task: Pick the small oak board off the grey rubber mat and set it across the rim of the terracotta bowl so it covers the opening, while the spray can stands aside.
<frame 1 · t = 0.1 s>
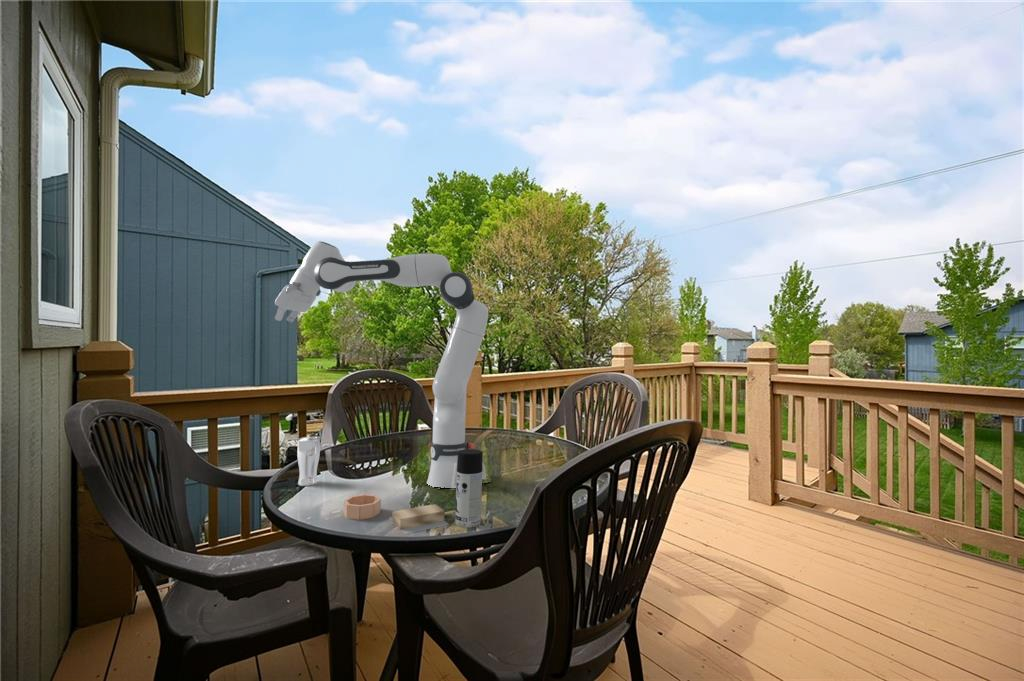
hand: (283, 320, 158), 54 cm above the table, tool tilted 30°, fingers open, 8 cm apart
mat: (418, 526, 123), on the table
board: (418, 521, 123), point 1 cm above the table, touching mat
spray can: (468, 528, 123), on the table
beer glass: (307, 484, 158), on the table
bowl: (361, 518, 128), on the table
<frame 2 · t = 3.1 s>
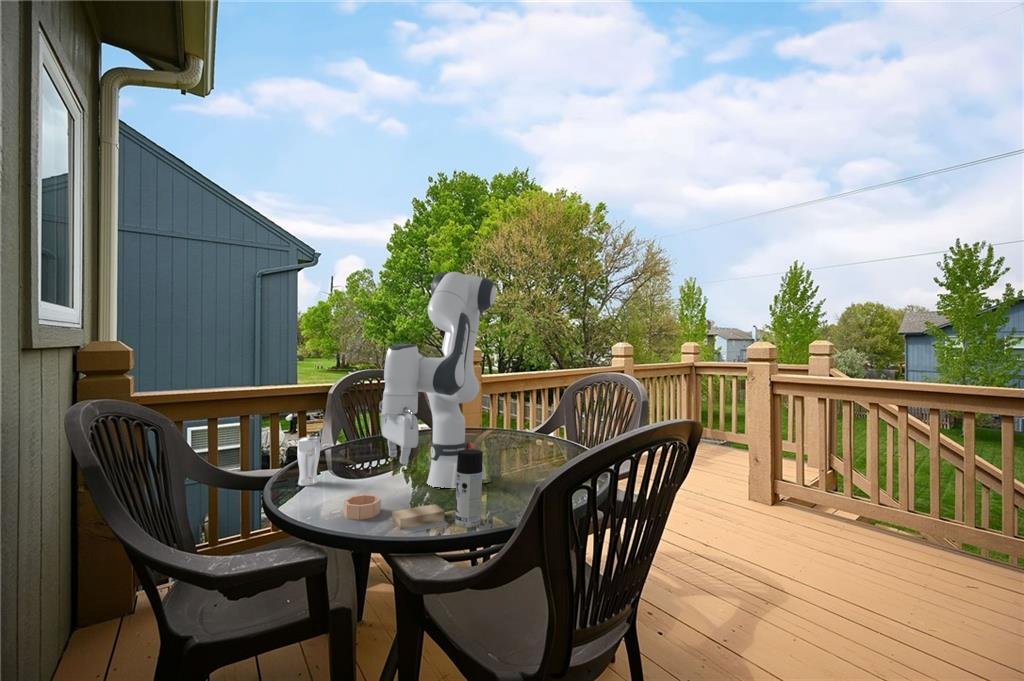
hand: (398, 460, 121), 18 cm above the table, tool pointing down, fingers open, 8 cm apart
nothing on the table moved.
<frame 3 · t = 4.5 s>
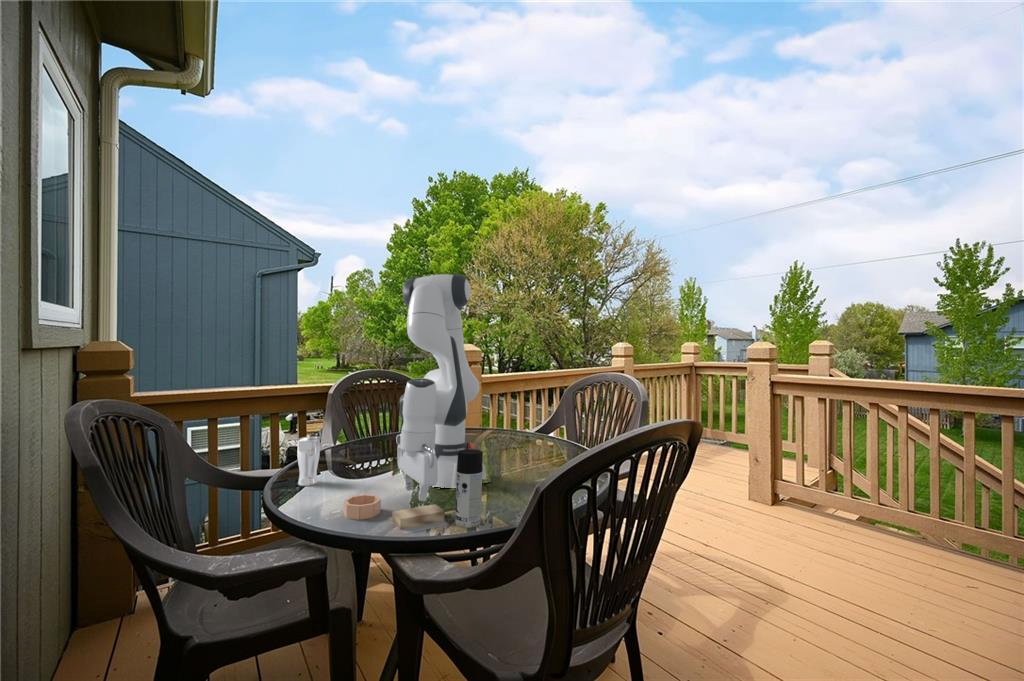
hand: (415, 494, 122), 9 cm above the table, tool pointing down, fingers open, 8 cm apart
nothing on the table moved.
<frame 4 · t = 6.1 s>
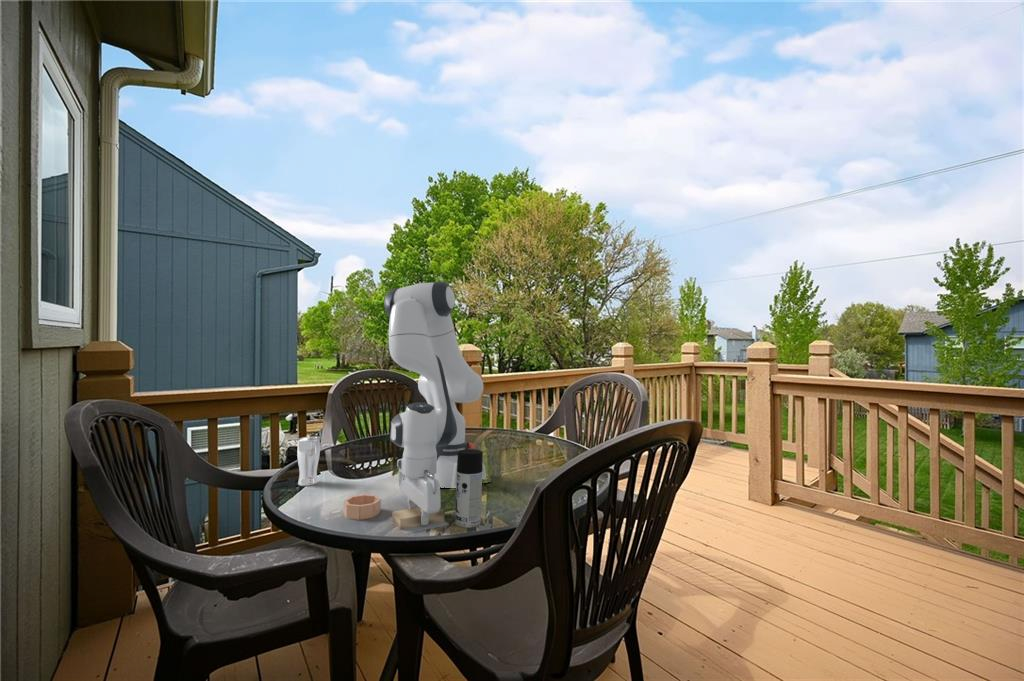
hand: (418, 519, 123), 2 cm above the table, tool pointing down, fingers closed on board, 6 cm apart
board: (418, 521, 123), point 2 cm above the table, touching gripper, mat
everything else where it was.
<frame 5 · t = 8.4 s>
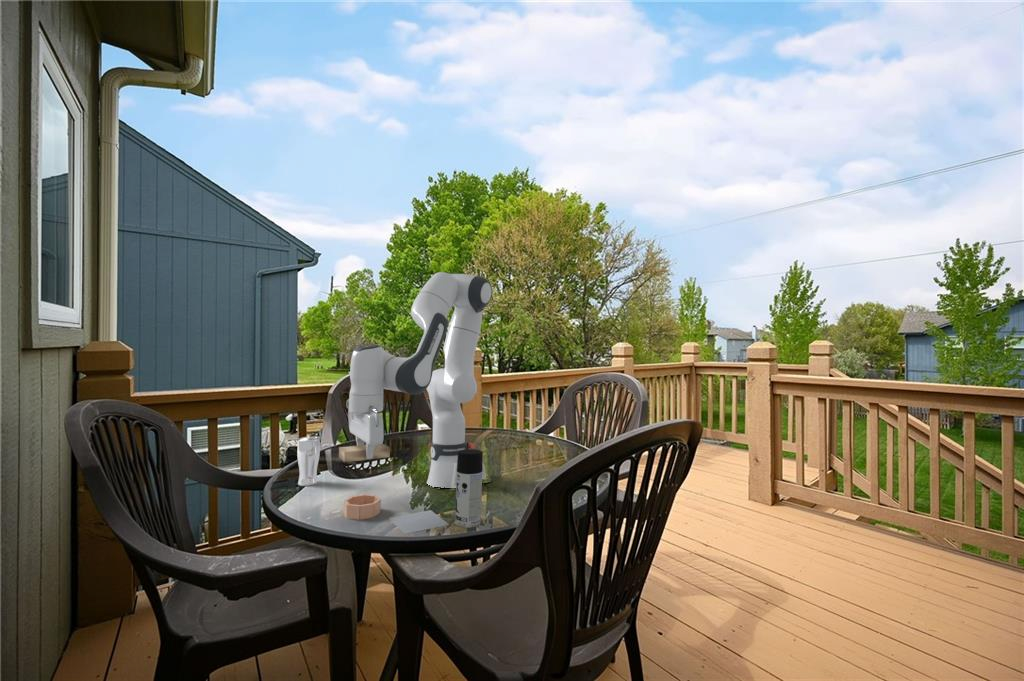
hand: (365, 455, 128), 17 cm above the table, tool pointing down, fingers closed on board, 6 cm apart
board: (364, 457, 128), point 17 cm above the table, touching gripper
everything else where it was.
when the fingers open (7 cm above the table, at t = 10.9 s): board drops 1 cm, resting on bowl.
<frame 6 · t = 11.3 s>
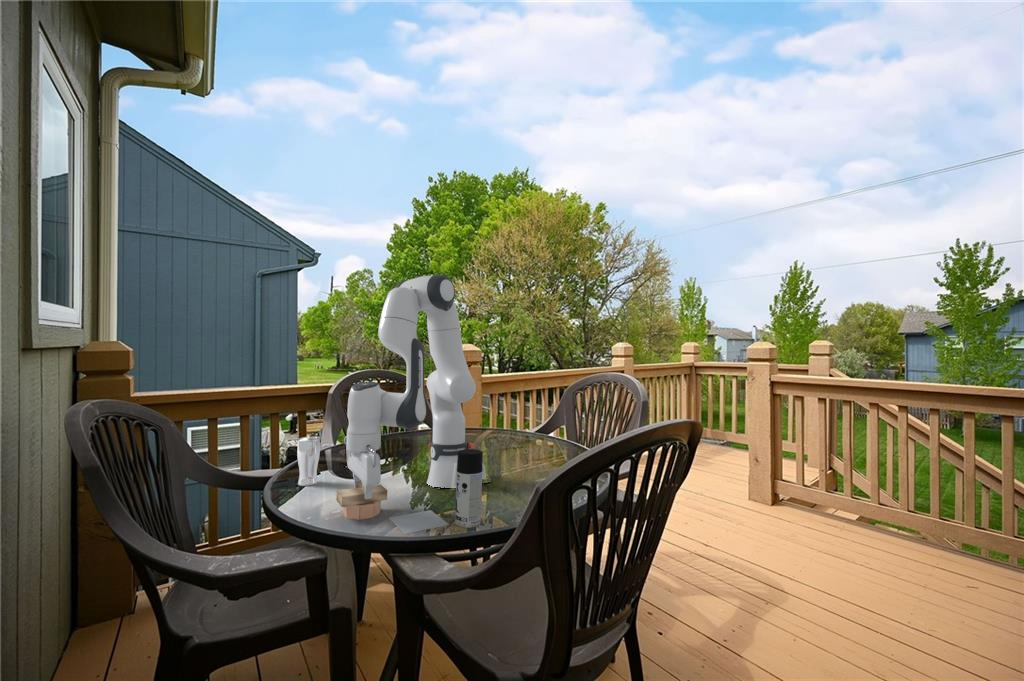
hand: (362, 493, 128), 7 cm above the table, tool pointing down, fingers open, 8 cm apart
board: (361, 500, 128), point 5 cm above the table, touching bowl
everything else where it was.
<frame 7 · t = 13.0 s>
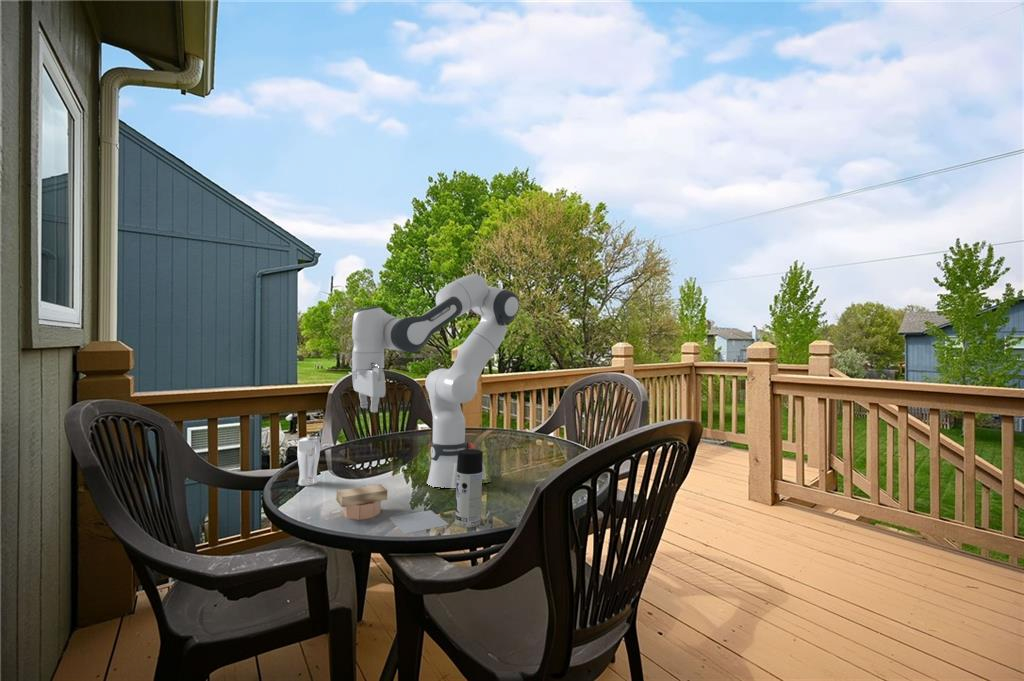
hand: (368, 409, 137), 28 cm above the table, tool pointing down, fingers open, 8 cm apart
nothing on the table moved.
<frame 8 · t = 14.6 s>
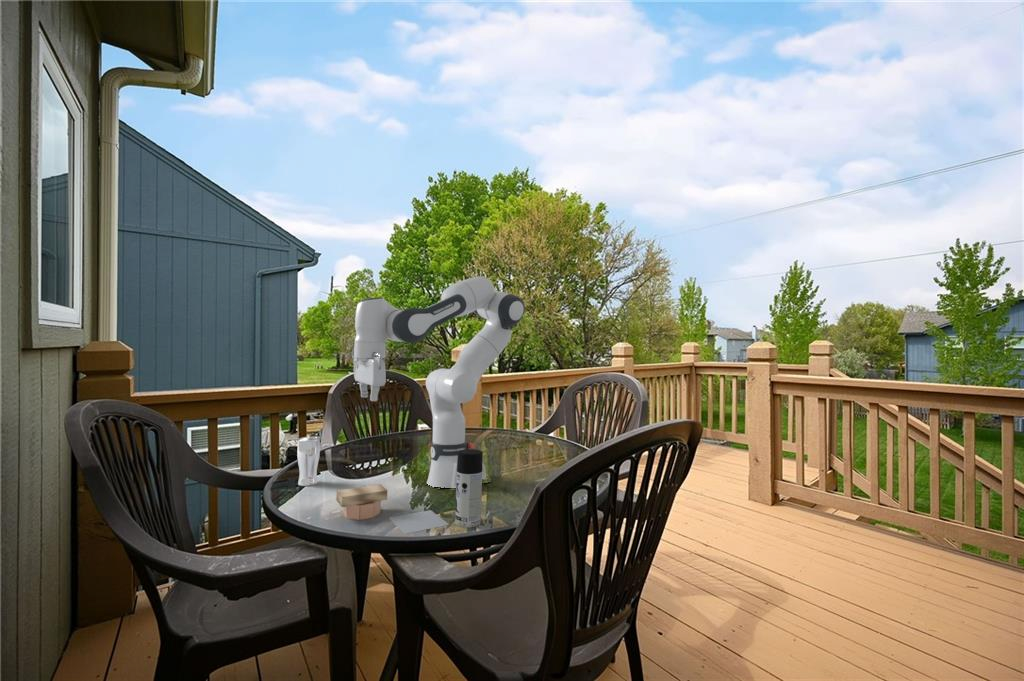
hand: (368, 399, 139), 31 cm above the table, tool pointing down, fingers open, 8 cm apart
nothing on the table moved.
at the end: board 0.1 cm off-centre on the bowl, point 5.0 cm above the bowl's base; board tilted 0°; the gripper is holding nothing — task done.
